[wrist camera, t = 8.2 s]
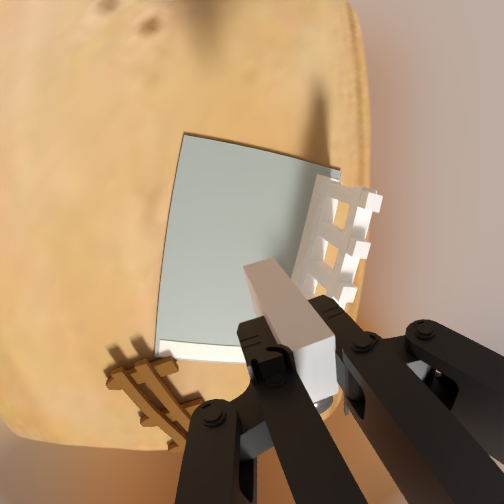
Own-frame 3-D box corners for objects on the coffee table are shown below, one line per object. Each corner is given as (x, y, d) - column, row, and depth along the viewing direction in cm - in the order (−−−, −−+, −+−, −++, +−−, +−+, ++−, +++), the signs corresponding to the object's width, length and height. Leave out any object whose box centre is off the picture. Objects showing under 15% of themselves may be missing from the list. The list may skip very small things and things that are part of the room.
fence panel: (295, 331, 35) (325, 376, 27) (283, 330, 35) (311, 377, 27) (334, 181, 30) (384, 192, 22) (321, 177, 30) (369, 188, 22)
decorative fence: (165, 346, 33) (98, 369, 32) (165, 357, 31) (95, 379, 30) (239, 448, 42) (186, 463, 41) (242, 457, 41) (187, 471, 40)
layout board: (184, 135, 27) (184, 134, 26) (340, 171, 31) (342, 171, 31) (154, 355, 33) (154, 357, 33) (286, 363, 38) (287, 364, 38)
